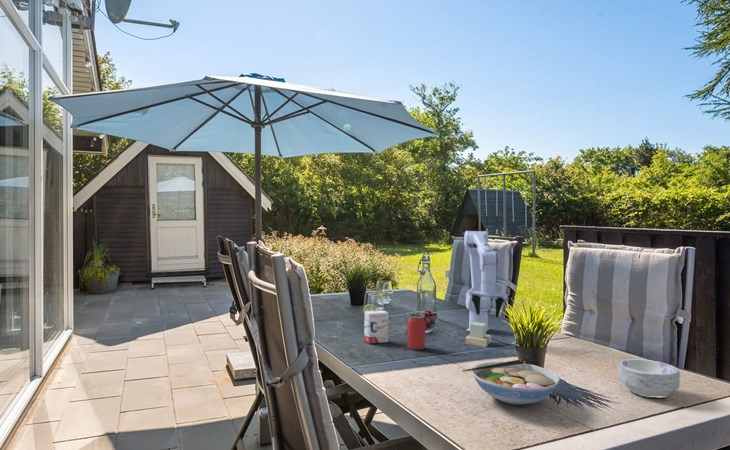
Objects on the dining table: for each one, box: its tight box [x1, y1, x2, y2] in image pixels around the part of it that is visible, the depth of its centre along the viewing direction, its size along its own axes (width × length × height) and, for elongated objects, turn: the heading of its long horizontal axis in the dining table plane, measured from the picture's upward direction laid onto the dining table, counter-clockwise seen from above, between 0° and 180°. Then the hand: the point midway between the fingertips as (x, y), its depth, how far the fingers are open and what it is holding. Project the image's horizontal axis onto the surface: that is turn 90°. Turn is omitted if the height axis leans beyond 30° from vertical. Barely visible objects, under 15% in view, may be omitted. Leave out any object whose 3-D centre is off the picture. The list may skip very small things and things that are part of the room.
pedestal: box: [464, 333, 492, 348], centre depth 191 cm, size 8×8×3 cm
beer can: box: [406, 314, 427, 351], centre depth 182 cm, size 7×7×12 cm
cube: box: [469, 322, 487, 339], centre depth 191 cm, size 5×5×5 cm
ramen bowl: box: [461, 357, 561, 406], centre depth 132 cm, size 25×23×8 cm
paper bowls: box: [617, 358, 681, 397], centre depth 139 cm, size 15×15×8 cm
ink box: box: [363, 310, 389, 345], centre depth 190 cm, size 9×5×12 cm, turn 113°
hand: (487, 315), depth 194 cm, fingers open, 7 cm apart
